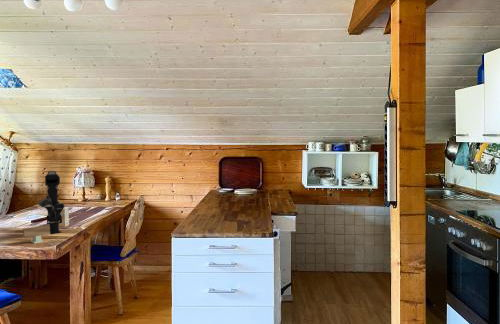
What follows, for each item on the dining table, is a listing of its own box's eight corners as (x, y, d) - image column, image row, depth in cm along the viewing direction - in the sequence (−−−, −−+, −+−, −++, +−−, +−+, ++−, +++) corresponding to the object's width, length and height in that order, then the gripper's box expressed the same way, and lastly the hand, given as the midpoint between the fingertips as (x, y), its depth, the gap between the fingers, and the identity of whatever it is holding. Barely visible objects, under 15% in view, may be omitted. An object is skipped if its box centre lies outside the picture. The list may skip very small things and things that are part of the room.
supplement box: (54, 226, 286) (53, 208, 285) (58, 225, 291) (58, 207, 290) (65, 227, 285) (64, 208, 284) (69, 225, 290) (68, 207, 289)
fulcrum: (31, 242, 245) (30, 235, 245) (39, 240, 249) (39, 234, 249) (34, 243, 242) (34, 236, 241) (43, 241, 245) (42, 235, 245)
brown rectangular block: (23, 236, 242) (22, 228, 241) (48, 232, 251) (47, 225, 251) (24, 238, 239) (24, 229, 239) (50, 234, 248) (49, 225, 248)
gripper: (33, 193, 255) (34, 218, 256) (45, 196, 243) (46, 222, 244) (51, 191, 263) (52, 215, 265) (64, 194, 251) (65, 219, 252)
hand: (53, 218), depth 256 cm, fingers open, 9 cm apart
